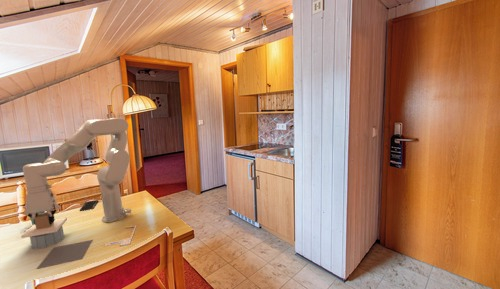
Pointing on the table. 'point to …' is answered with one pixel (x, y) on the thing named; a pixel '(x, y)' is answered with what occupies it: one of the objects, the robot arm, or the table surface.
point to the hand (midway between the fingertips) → (45, 223)
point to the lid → (43, 225)
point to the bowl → (47, 239)
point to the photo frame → (123, 240)
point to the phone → (89, 205)
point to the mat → (65, 254)
